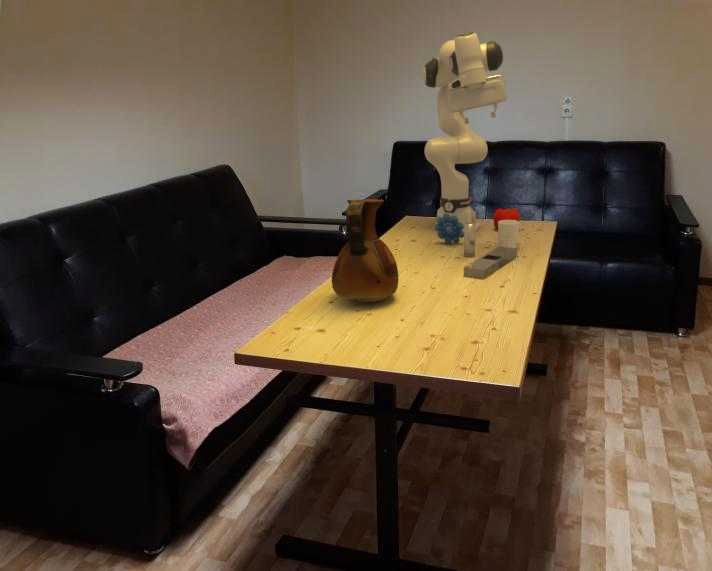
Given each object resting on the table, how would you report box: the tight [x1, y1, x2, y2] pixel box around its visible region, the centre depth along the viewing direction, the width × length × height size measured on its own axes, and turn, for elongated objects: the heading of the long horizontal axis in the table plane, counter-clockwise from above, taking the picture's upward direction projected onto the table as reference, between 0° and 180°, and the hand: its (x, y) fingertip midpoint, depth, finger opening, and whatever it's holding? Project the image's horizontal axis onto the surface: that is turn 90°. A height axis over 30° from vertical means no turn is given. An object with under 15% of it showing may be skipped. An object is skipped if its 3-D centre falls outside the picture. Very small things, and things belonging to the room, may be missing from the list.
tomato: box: [492, 208, 521, 230], centre depth 288 cm, size 11×12×9 cm
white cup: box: [497, 220, 520, 249], centre depth 259 cm, size 8×8×10 cm
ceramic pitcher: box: [331, 198, 399, 303], centre depth 201 cm, size 20×20×30 cm
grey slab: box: [463, 246, 518, 280], centre depth 236 cm, size 32×7×3 cm, turn 148°
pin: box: [463, 222, 477, 258], centre depth 248 cm, size 4×4×12 cm
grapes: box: [433, 213, 464, 245], centre depth 265 cm, size 12×7×12 cm, turn 79°
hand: (480, 120), depth 238 cm, fingers open, 8 cm apart
